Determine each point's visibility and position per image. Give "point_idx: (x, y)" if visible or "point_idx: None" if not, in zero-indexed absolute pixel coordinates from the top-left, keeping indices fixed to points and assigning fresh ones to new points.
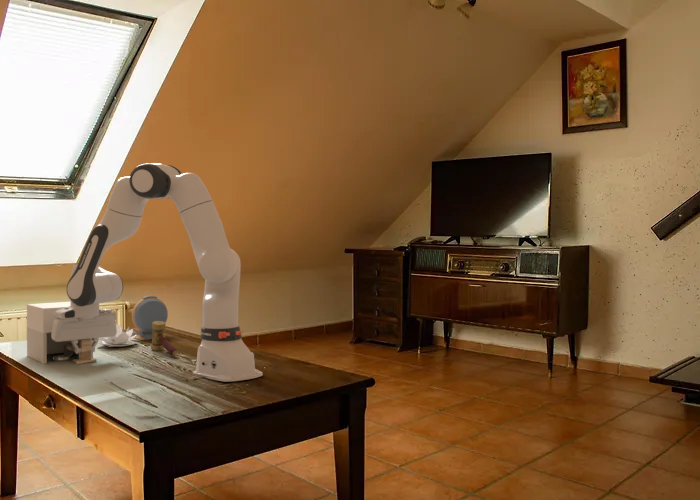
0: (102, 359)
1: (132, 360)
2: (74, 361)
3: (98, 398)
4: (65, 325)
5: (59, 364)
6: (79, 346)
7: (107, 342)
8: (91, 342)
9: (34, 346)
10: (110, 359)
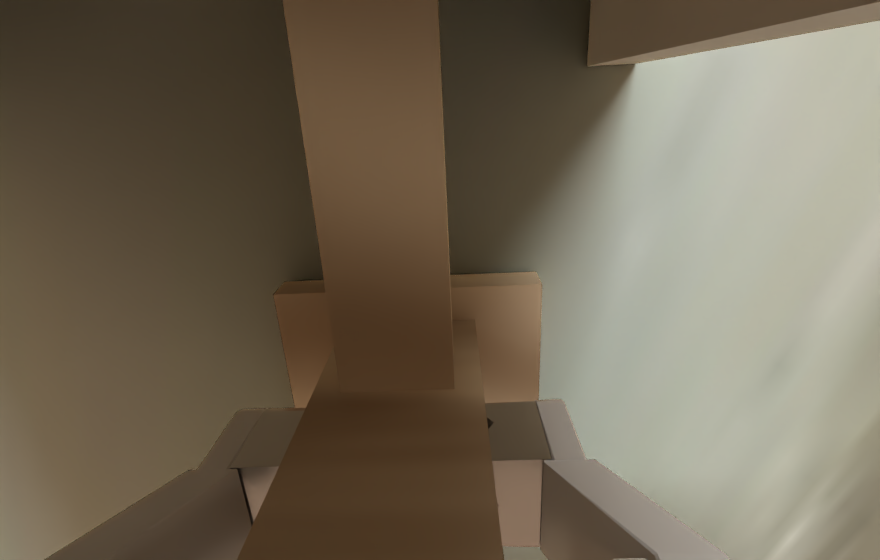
0: (668, 293)
1: (865, 540)
2: (285, 322)
3: None
4: None
5: (108, 296)
6: (284, 485)
7: None
8: (783, 32)
9: None
10: (740, 354)
